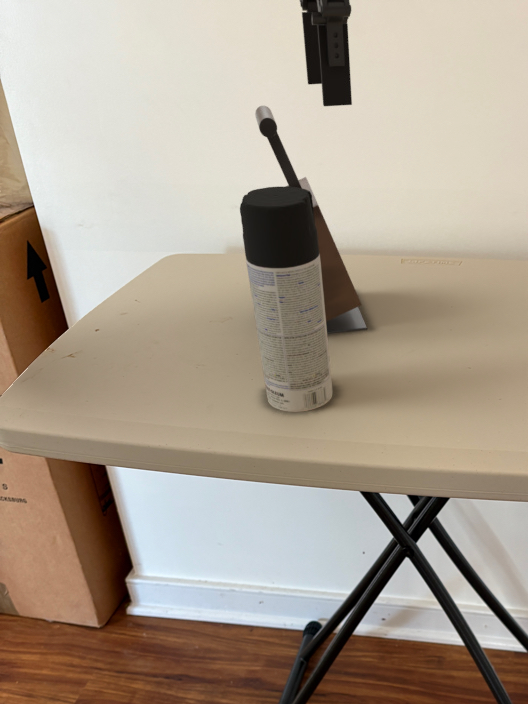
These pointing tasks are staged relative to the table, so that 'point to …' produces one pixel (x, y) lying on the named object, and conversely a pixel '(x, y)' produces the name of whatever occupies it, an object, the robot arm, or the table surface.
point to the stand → (346, 322)
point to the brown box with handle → (334, 272)
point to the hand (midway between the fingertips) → (328, 94)
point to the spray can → (287, 296)
